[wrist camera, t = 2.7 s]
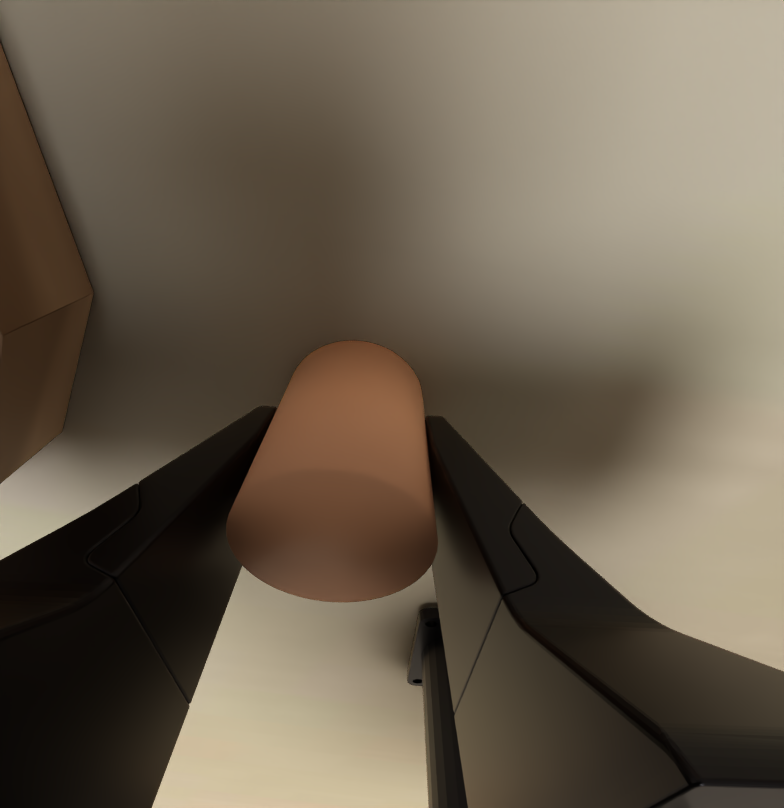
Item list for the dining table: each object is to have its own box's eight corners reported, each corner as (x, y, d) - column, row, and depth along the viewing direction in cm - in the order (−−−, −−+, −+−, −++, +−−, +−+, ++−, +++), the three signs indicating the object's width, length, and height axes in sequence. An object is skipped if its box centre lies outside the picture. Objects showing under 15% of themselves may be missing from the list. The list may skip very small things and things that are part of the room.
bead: (415, 455, 11) (425, 606, 8) (294, 448, 11) (243, 597, 8) (430, 344, 9) (453, 475, 6) (283, 336, 9) (206, 462, 6)
